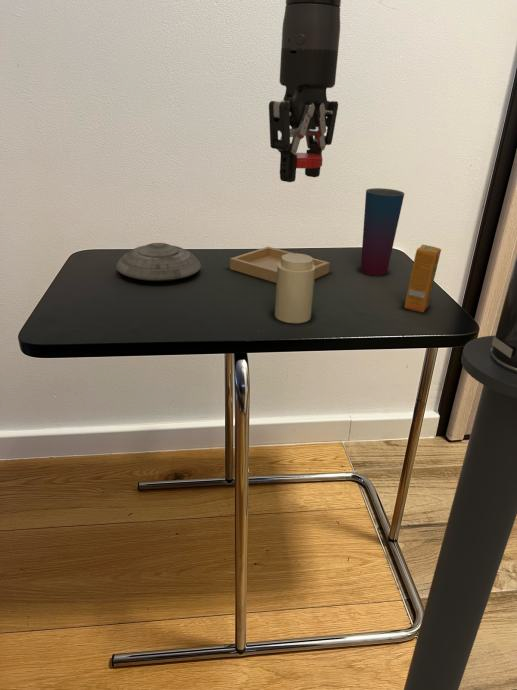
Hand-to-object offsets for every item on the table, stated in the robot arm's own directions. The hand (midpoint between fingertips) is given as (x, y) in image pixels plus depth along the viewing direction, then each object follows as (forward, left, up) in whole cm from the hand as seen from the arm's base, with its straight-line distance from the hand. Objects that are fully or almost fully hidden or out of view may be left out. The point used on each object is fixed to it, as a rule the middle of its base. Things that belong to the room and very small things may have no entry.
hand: (300, 178), depth 79 cm
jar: (-3, +4, -20) cm, 20 cm away
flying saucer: (+26, +5, -20) cm, 33 cm away
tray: (+11, -12, -20) cm, 25 cm away
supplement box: (-16, -13, -20) cm, 29 cm away
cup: (-2, -25, -20) cm, 32 cm away
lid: (0, 0, +3) cm, 3 cm away
